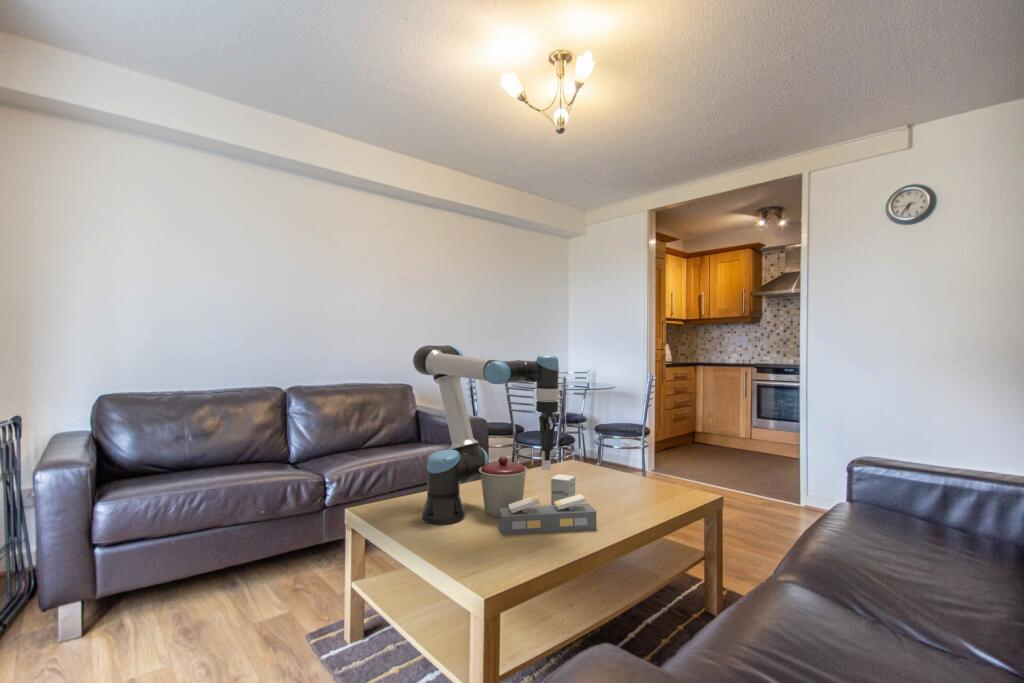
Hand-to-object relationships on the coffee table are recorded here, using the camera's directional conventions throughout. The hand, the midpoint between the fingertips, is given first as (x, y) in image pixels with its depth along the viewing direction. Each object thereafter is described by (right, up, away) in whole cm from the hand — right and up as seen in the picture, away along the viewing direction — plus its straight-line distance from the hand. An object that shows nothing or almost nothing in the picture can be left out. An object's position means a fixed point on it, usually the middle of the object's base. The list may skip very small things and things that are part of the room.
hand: (546, 469), depth 163 cm
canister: (-15, -20, +13) cm, 29 cm away
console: (0, -20, -1) cm, 20 cm away
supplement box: (+8, -20, +17) cm, 27 cm away
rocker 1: (-8, -11, -2) cm, 14 cm away
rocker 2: (+8, -11, 0) cm, 14 cm away
